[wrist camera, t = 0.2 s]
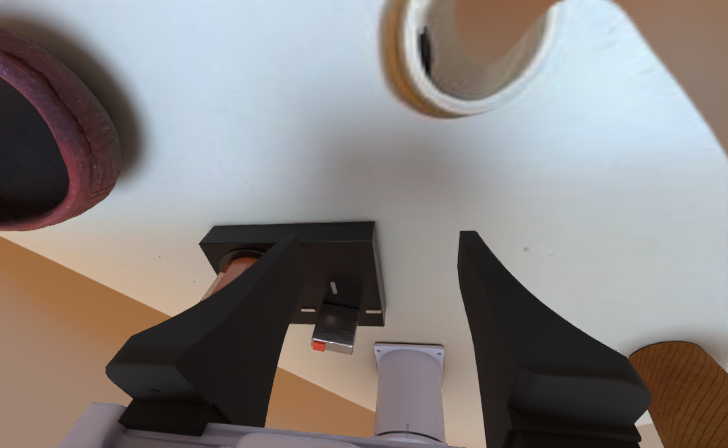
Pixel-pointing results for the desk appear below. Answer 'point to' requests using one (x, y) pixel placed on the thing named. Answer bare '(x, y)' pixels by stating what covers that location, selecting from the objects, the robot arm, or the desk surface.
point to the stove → (318, 264)
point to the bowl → (50, 139)
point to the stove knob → (335, 329)
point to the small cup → (229, 274)
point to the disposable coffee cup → (685, 394)
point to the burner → (239, 256)
